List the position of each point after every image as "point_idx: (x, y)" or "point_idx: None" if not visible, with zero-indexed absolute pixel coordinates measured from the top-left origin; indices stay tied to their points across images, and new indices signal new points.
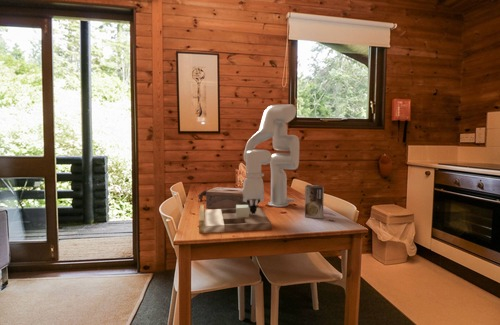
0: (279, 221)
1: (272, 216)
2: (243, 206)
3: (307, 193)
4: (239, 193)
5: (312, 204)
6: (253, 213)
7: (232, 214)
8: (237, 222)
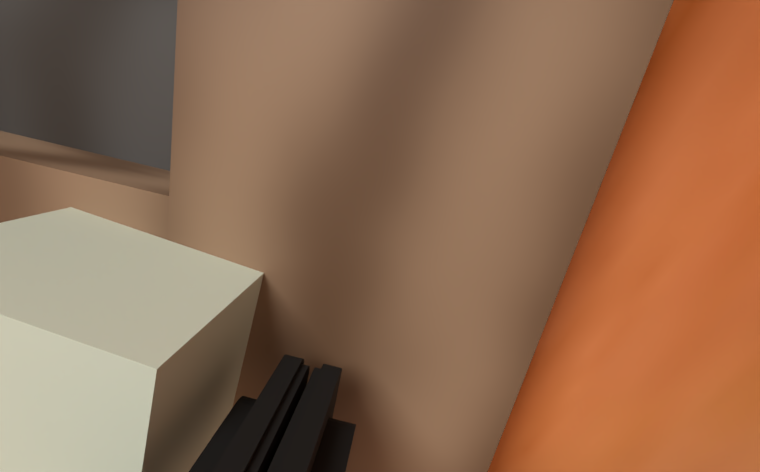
0: (638, 463)
1: (708, 248)
2: (23, 463)
3: None
4: None
5: None
6: (352, 307)
7: None
8: None
